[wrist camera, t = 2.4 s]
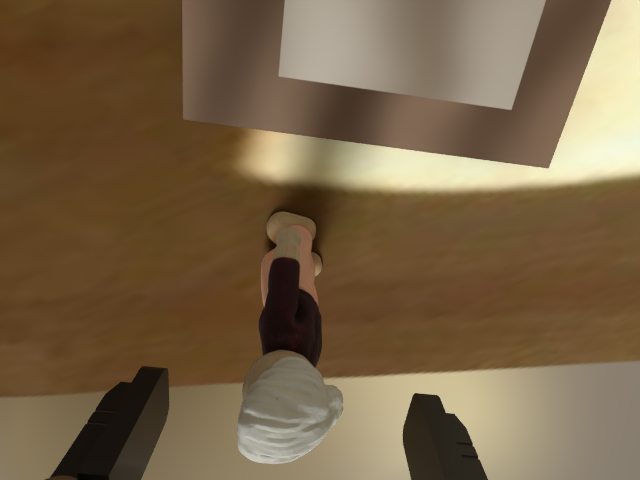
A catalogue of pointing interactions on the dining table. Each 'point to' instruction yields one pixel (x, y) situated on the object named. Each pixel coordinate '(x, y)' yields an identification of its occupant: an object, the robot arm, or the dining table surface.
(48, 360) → the dining table surface
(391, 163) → the dining table surface
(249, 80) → the plinth
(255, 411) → the grandmother figurine
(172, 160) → the dining table surface
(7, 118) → the dining table surface
